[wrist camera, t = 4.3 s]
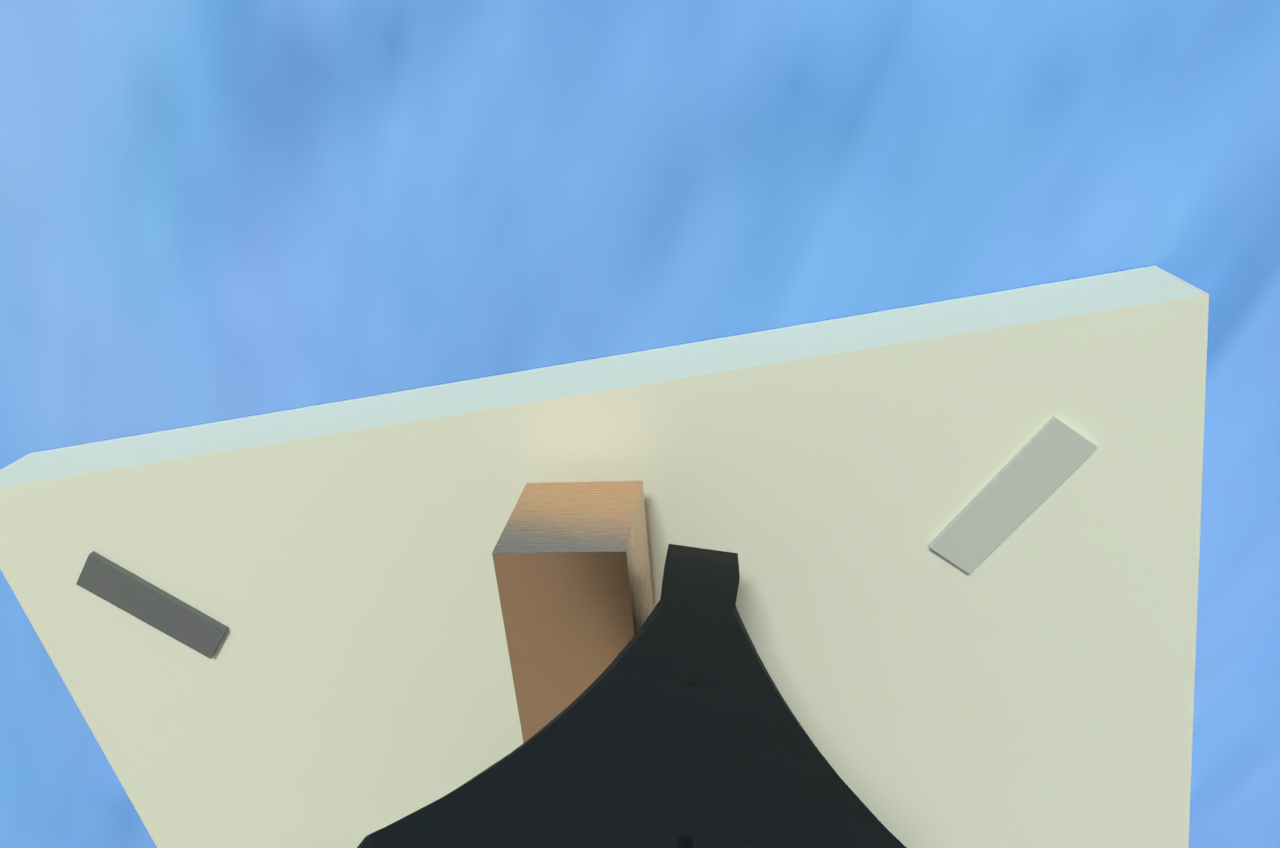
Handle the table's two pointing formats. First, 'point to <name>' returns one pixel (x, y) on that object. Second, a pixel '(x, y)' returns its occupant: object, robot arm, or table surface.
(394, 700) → the base
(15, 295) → the table surface
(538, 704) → the twist handle
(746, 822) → the robot arm
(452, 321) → the table surface
